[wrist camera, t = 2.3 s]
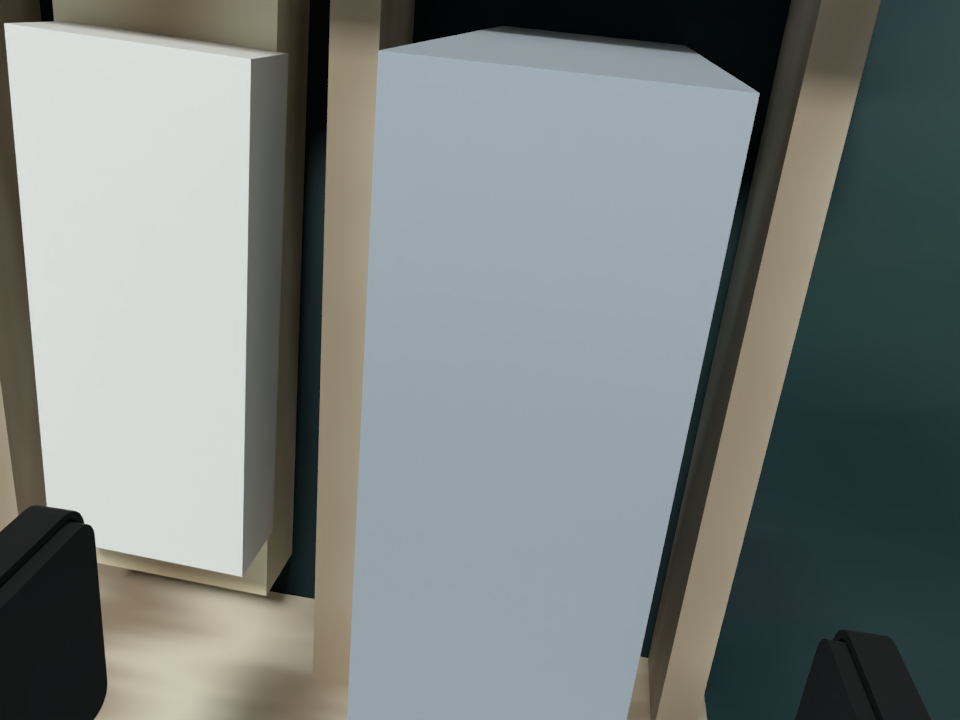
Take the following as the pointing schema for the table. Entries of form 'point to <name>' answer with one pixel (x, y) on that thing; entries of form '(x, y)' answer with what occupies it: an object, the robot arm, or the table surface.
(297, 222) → the block
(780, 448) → the table surface
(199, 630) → the offcut rack
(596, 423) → the grey sheet
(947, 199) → the table surface
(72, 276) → the offcut top
